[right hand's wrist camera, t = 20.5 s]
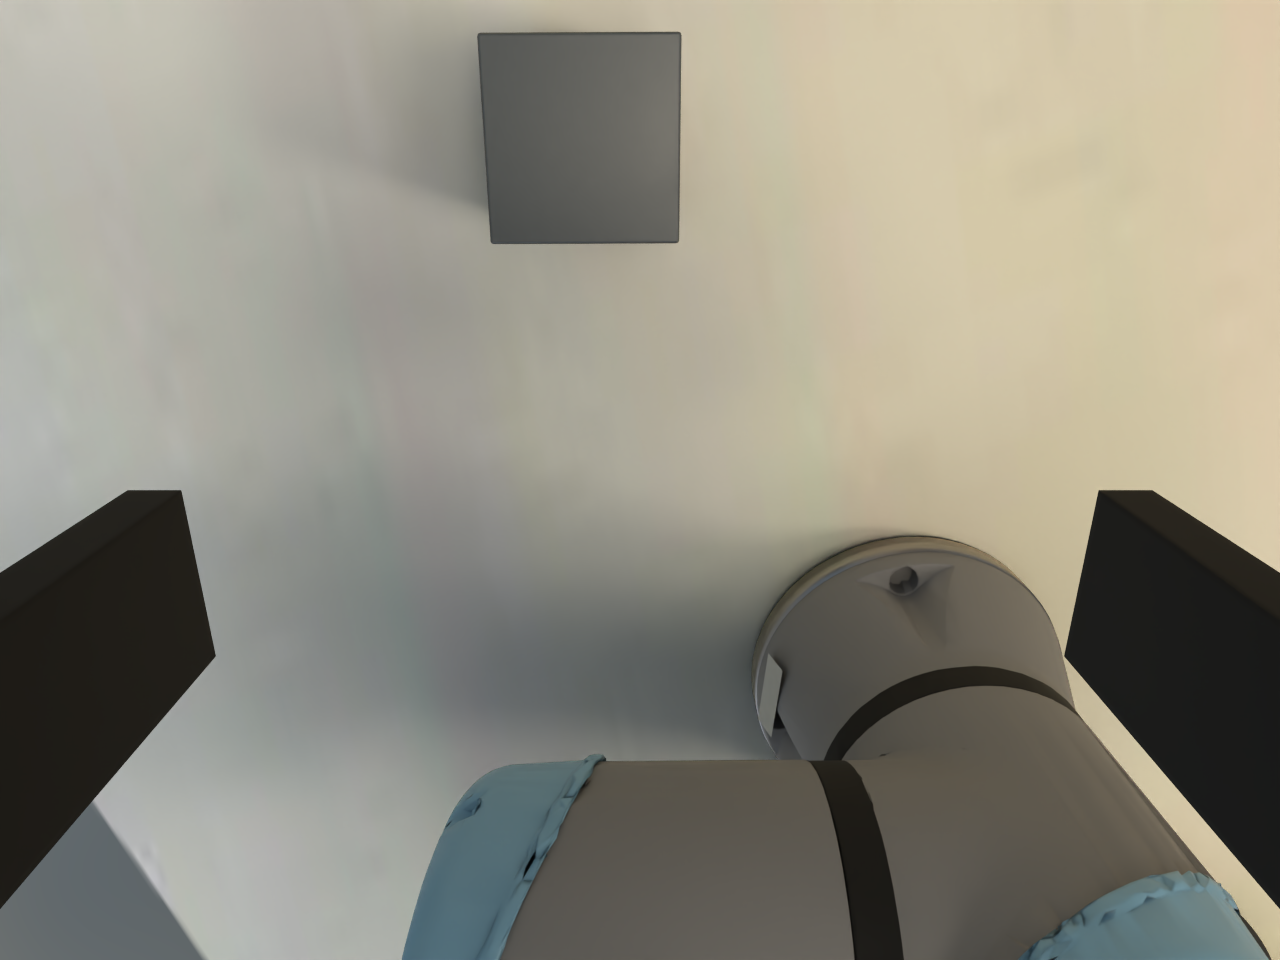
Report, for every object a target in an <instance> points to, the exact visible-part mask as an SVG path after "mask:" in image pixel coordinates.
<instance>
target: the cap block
mask: <svg viewBox="0 0 1280 960" xmlns="http://www.w3.org/2000/svg"><path fill="white" fill-rule="evenodd" d="M477 38H478V54H479V69H480V84H481V99H482V115H483V130H484V145H485V160H486V176H487V191H488V206H489V222H490V237H491V243H492V244H607V243H678V241H679V197H680V110H681V33H680V32H547V33H479V34H478V36H477Z"/></svg>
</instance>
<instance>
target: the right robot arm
mask: <svg viewBox="0 0 1280 960" xmlns="http://www.w3.org/2000/svg"><path fill="white" fill-rule="evenodd" d="M215 656H216V655H215V650H214V645H213V641H212V636H211V631H210V626H209V621H208V617H207V612H206V607H205V602H204V597H203V593H202V588H201V583H200V578H199V573H198V569H197V564H196V559H195V554H194V549H193V545H192V540H191V535H190V530H189V525H188V521H187V516H186V511H185V506H184V501H183V497H182V492H181V490H128V491H126V492H124V493H123V494H121V495H120V496H118V497H117V498H115V499H114V500H112V501H111V502H109V503H107V504H106V505H104V506H103V507H101V508H100V509H98V510H97V511H95V512H94V513H92V514H90V515H89V516H87V517H86V518H84V519H83V520H81V521H80V522H78V523H77V524H75V525H73V526H72V527H70V528H69V529H67V530H66V531H64V532H63V533H61V534H60V535H58V536H56V537H55V538H53V539H52V540H50V541H49V542H47V543H46V544H44V545H43V546H41V547H39V548H38V549H36V550H35V551H33V552H32V553H30V554H29V555H27V556H26V557H24V558H22V559H21V560H19V561H18V562H16V563H15V564H13V565H12V566H10V567H9V568H7V569H5V570H4V571H2V572H1V573H0V908H1V907H2V906H3V905H4V904H5V903H6V901H7V900H8V899H9V898H10V897H11V896H12V894H13V893H14V892H15V891H16V890H17V889H18V887H19V886H20V885H21V884H22V883H23V882H24V880H25V879H26V878H27V877H28V876H29V874H30V873H31V872H32V871H33V870H34V869H35V867H36V866H37V865H38V864H39V863H40V862H41V860H42V859H43V858H44V857H45V856H46V855H47V853H48V852H49V851H50V850H51V849H52V847H53V846H54V845H55V844H56V843H57V842H58V840H59V839H60V838H61V837H62V836H63V835H64V833H65V832H66V831H67V830H68V829H69V827H70V826H71V825H72V824H73V823H74V822H75V821H76V819H77V818H78V817H79V816H80V815H81V813H82V812H83V811H84V810H85V809H86V808H87V807H88V805H89V804H90V803H91V802H92V801H93V799H94V798H95V797H96V796H97V795H98V794H99V792H100V791H101V790H102V789H103V788H104V787H105V785H106V784H107V783H108V782H109V781H110V780H111V778H112V777H113V776H114V775H115V774H116V773H117V771H118V770H119V769H120V768H121V767H122V765H123V764H124V763H125V762H126V761H127V760H128V758H129V757H130V756H131V755H132V754H133V753H134V751H135V750H136V749H137V748H138V747H139V746H140V744H141V743H142V742H143V741H144V740H145V739H146V737H147V736H148V735H149V734H150V733H151V731H152V730H153V729H154V728H155V727H156V726H157V724H158V723H159V722H160V721H161V720H162V719H163V717H164V716H165V715H166V714H167V713H168V712H169V710H170V709H171V708H172V707H173V706H174V705H175V703H176V702H177V701H178V700H179V699H180V697H181V696H182V695H183V694H184V693H185V692H186V690H187V689H188V688H189V687H190V686H191V685H192V683H193V682H194V681H195V680H196V679H197V678H198V676H199V675H200V674H201V673H202V672H203V671H204V669H205V668H206V667H207V666H208V665H209V663H210V662H211V661H212V660H213V659H214V658H215ZM1064 656H1065V658H1066V659H1067V660H1068V661H1069V662H1070V663H1071V665H1072V666H1073V667H1074V668H1075V669H1076V671H1077V672H1078V673H1079V674H1080V675H1081V676H1082V678H1083V679H1084V680H1085V681H1086V682H1087V683H1088V685H1089V686H1090V687H1091V688H1092V689H1093V690H1094V692H1095V693H1096V694H1097V695H1098V696H1099V697H1100V699H1101V700H1102V701H1103V702H1104V703H1105V705H1106V706H1107V707H1108V708H1109V709H1110V710H1111V712H1112V713H1113V714H1114V715H1115V716H1116V717H1117V719H1118V720H1119V721H1120V722H1121V723H1122V724H1123V726H1124V727H1125V728H1126V729H1127V730H1128V731H1129V733H1130V734H1131V735H1132V736H1133V737H1134V739H1135V740H1136V741H1137V742H1138V743H1139V744H1140V746H1141V747H1142V748H1143V749H1144V750H1145V751H1146V753H1147V754H1148V755H1149V756H1150V757H1151V758H1152V760H1153V761H1154V762H1155V763H1156V764H1157V765H1158V767H1159V768H1160V769H1161V770H1162V771H1163V773H1164V774H1165V775H1166V776H1167V777H1168V778H1169V780H1170V781H1171V782H1172V783H1173V784H1174V785H1175V787H1176V788H1177V789H1178V790H1179V791H1180V792H1181V794H1182V795H1183V796H1184V797H1185V798H1186V799H1187V801H1188V802H1189V803H1190V804H1191V805H1192V807H1193V808H1194V809H1195V810H1196V811H1197V812H1198V814H1199V815H1200V816H1201V817H1202V818H1203V819H1204V821H1205V822H1206V823H1207V824H1208V825H1209V826H1210V828H1211V829H1212V830H1213V831H1214V832H1215V833H1216V835H1217V836H1218V837H1219V838H1220V839H1221V840H1222V842H1223V843H1224V844H1225V845H1226V846H1227V848H1228V849H1229V850H1230V851H1231V852H1232V853H1233V855H1234V856H1235V857H1236V858H1237V859H1238V860H1239V862H1240V863H1241V864H1242V865H1243V866H1244V867H1245V869H1246V870H1247V871H1248V872H1249V873H1250V874H1251V876H1252V877H1253V878H1254V879H1255V880H1256V882H1257V883H1258V884H1259V885H1260V886H1261V887H1262V889H1263V890H1264V891H1265V892H1266V893H1267V894H1268V896H1269V897H1270V898H1271V899H1272V900H1273V901H1274V903H1275V904H1276V905H1277V906H1278V907H1279V908H1280V573H1279V572H1278V571H1276V570H1275V569H1273V568H1271V567H1270V566H1268V565H1267V564H1265V563H1264V562H1262V561H1261V560H1259V559H1258V558H1256V557H1254V556H1253V555H1251V554H1250V553H1248V552H1247V551H1245V550H1244V549H1242V548H1241V547H1239V546H1237V545H1236V544H1234V543H1233V542H1231V541H1230V540H1228V539H1227V538H1225V537H1224V536H1222V535H1220V534H1219V533H1217V532H1216V531H1214V530H1213V529H1211V528H1210V527H1208V526H1207V525H1205V524H1203V523H1202V522H1200V521H1199V520H1197V519H1196V518H1194V517H1193V516H1191V515H1190V514H1188V513H1186V512H1185V511H1183V510H1182V509H1180V508H1179V507H1177V506H1176V505H1174V504H1173V503H1171V502H1169V501H1168V500H1166V499H1165V498H1163V497H1162V496H1160V495H1159V494H1157V493H1156V492H1154V491H1152V490H1099V492H1098V496H1097V501H1096V506H1095V511H1094V516H1093V521H1092V525H1091V530H1090V535H1089V540H1088V545H1087V549H1086V554H1085V559H1084V564H1083V569H1082V573H1081V578H1080V583H1079V588H1078V593H1077V597H1076V602H1075V607H1074V612H1073V617H1072V621H1071V626H1070V631H1069V636H1068V641H1067V645H1066V650H1065V655H1064ZM752 690H753V695H754V700H755V705H756V710H757V714H758V719H759V723H760V726H761V729H762V732H763V734H764V736H765V738H766V740H767V742H768V744H769V746H770V747H771V749H772V751H773V752H774V754H775V756H776V757H777V759H778V760H702V761H606V758H605V757H604V755H600V754H594V755H590V756H588V757H587V758H586V759H584V760H582V761H565V762H548V763H532V764H515V765H509V766H504V767H501V768H498V769H495V770H493V771H491V772H489V773H487V774H486V775H484V776H483V777H481V778H480V779H479V780H478V781H477V782H475V783H474V784H473V785H472V786H471V788H470V789H469V790H468V791H467V792H466V793H465V794H464V795H463V797H462V798H461V800H460V801H459V803H458V804H457V806H456V807H455V809H454V810H453V812H452V814H451V816H450V818H449V820H448V822H447V824H446V826H445V829H444V831H443V833H442V835H441V837H440V839H439V841H438V844H437V846H436V849H435V851H434V854H433V856H432V859H431V862H430V864H429V867H428V870H427V873H426V876H425V878H424V881H423V884H422V887H421V890H420V894H419V897H418V900H417V904H416V907H415V910H414V914H413V918H412V921H411V925H410V929H409V932H408V936H407V940H406V944H405V948H404V952H403V957H402V960H1271V958H1270V956H1269V954H1268V951H1267V949H1266V948H1265V946H1264V944H1263V943H1262V941H1261V940H1260V938H1259V937H1258V935H1257V934H1256V932H1255V931H1254V930H1253V929H1252V927H1251V926H1250V925H1249V924H1248V923H1247V921H1246V920H1245V919H1244V918H1243V917H1242V916H1241V915H1240V912H1239V909H1238V907H1237V905H1236V903H1235V901H1234V900H1233V898H1232V896H1231V895H1230V894H1229V893H1228V892H1227V891H1226V890H1224V889H1223V888H1222V887H1221V883H1217V882H1216V881H1215V880H1214V879H1213V877H1212V876H1211V875H1210V874H1209V873H1208V871H1207V870H1206V869H1205V868H1204V867H1203V865H1202V864H1201V863H1200V862H1199V860H1198V859H1197V858H1196V857H1195V856H1194V854H1193V853H1192V852H1191V851H1190V849H1189V848H1188V847H1187V846H1186V845H1185V843H1184V842H1183V841H1182V840H1181V838H1180V837H1179V836H1178V835H1177V834H1176V832H1175V831H1174V830H1173V829H1172V828H1171V826H1170V825H1169V824H1168V823H1167V821H1166V820H1165V819H1164V818H1163V817H1162V815H1161V814H1160V813H1159V812H1158V810H1157V809H1156V808H1155V807H1154V806H1153V804H1152V803H1151V802H1150V801H1149V800H1148V798H1147V797H1146V796H1145V795H1144V793H1143V792H1142V791H1141V790H1140V789H1139V787H1138V786H1137V785H1136V784H1135V782H1134V781H1133V780H1132V779H1131V778H1130V776H1129V775H1128V774H1127V773H1126V771H1125V770H1124V769H1123V768H1122V767H1121V765H1120V764H1119V763H1118V762H1117V761H1116V759H1115V758H1114V757H1113V756H1112V754H1111V753H1110V752H1109V751H1108V750H1107V748H1106V747H1105V746H1104V745H1103V743H1102V742H1101V741H1100V740H1099V739H1098V737H1097V736H1096V735H1095V734H1094V732H1093V731H1092V730H1091V729H1090V728H1089V726H1088V725H1087V724H1086V723H1085V722H1084V721H1083V719H1082V718H1081V717H1080V716H1079V714H1078V713H1077V712H1076V710H1075V706H1074V702H1073V698H1072V694H1071V689H1070V685H1069V681H1068V677H1067V673H1066V669H1065V665H1064V661H1063V657H1062V652H1061V648H1060V644H1059V640H1058V637H1057V635H1056V632H1055V630H1054V627H1053V625H1052V623H1051V620H1050V618H1049V616H1048V614H1047V613H1046V611H1045V609H1044V608H1043V606H1042V605H1041V603H1040V602H1039V601H1038V600H1037V598H1036V597H1035V596H1034V594H1033V593H1032V592H1031V591H1030V590H1029V589H1028V588H1027V587H1026V586H1025V585H1024V583H1023V582H1022V581H1021V580H1020V579H1019V578H1018V577H1017V576H1016V575H1015V574H1014V573H1013V572H1012V571H1011V570H1010V569H1008V568H1007V567H1006V566H1005V565H1003V564H1002V563H1001V562H999V561H998V560H996V559H995V558H993V557H991V556H990V555H988V554H986V553H984V552H982V551H980V550H978V549H976V548H973V547H970V546H967V545H965V544H962V543H958V542H954V541H950V540H945V539H939V538H930V537H900V538H891V539H885V540H880V541H875V542H871V543H867V544H864V545H860V546H857V547H855V548H852V549H849V550H847V551H844V552H842V553H840V554H838V555H836V556H834V557H832V558H830V559H828V560H826V561H825V562H823V563H821V564H820V565H818V566H816V567H815V568H814V569H812V570H811V571H810V572H808V573H807V574H805V575H804V576H803V577H802V578H801V579H800V580H798V581H797V582H796V583H795V584H794V585H793V586H792V587H791V588H790V589H789V590H788V591H787V592H786V593H785V594H784V595H783V597H782V598H781V599H780V600H779V602H778V603H777V604H776V606H775V607H774V608H773V610H772V612H771V613H770V615H769V616H768V618H767V620H766V622H765V624H764V626H763V628H762V630H761V632H760V635H759V638H758V640H757V643H756V647H755V651H754V655H753V663H752Z"/></svg>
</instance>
